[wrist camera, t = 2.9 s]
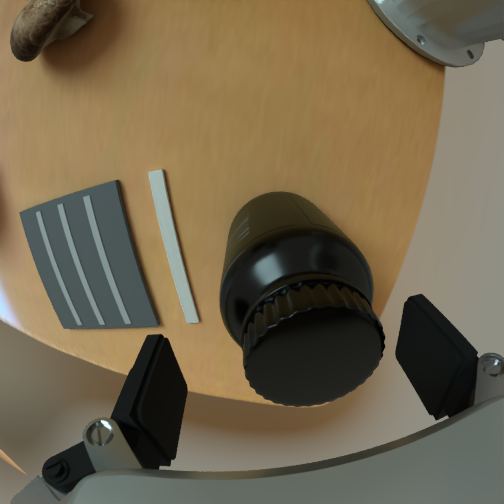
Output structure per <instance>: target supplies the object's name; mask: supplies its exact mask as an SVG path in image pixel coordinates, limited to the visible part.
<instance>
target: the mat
mask: <svg viewBox="0 0 504 504" xmlns="http://www.w3.org/2000/svg"><path fill="white" fill-rule="evenodd" d="M20 217H21V221H22V224H23V228H24V231H25V234H26V238H27V241H28V244H29V247H30V250H31V253H32V256H33V259H34V262H35V264H36V267H37V270H38V272H39V275H40V277H41V280H42V282H43V285H44V287H45V290H46V292H47V294H48V297H49V299H50V301H51V303H52V305H53V308H54V310H55V312H56V314H57V316H58V318H59V320H60V322H61V324H62V326H63V328H64V329H105V328H139V327H158V326H159V324H160V322H159V319H158V317H157V314H156V311H155V308H154V306H153V303H152V300H151V297H150V294H149V291H148V288H147V285H146V282H145V279H144V276H143V273H142V270H141V266H140V263H139V260H138V256H137V253H136V250H135V246H134V243H133V239H132V235H131V232H130V228H129V224H128V220H127V216H126V212H125V208H124V204H123V199H122V195H121V191H120V186H119V181H118V180H115V181H112V182H108V183H104V184H101V185H98V186H94V187H91V188H87V189H84V190H81V191H78V192H75V193H72V194H69V195H66V196H63V197H60V198H57V199H54V200H51V201H48V202H45V203H43V204H40V205H37V206H35V207H32V208H29V209H27V210H24V211H22V212H20Z"/></svg>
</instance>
